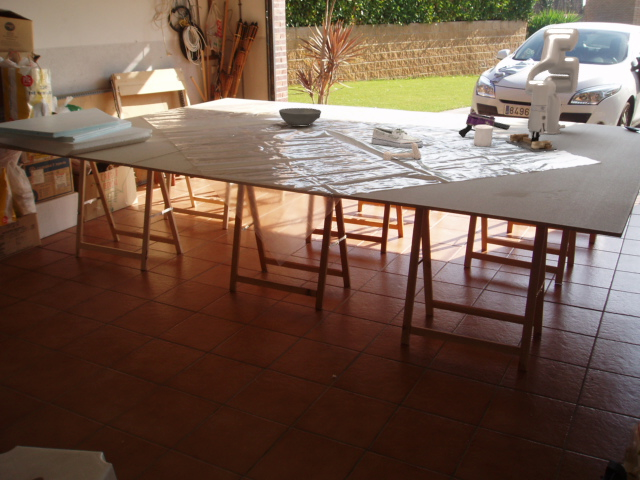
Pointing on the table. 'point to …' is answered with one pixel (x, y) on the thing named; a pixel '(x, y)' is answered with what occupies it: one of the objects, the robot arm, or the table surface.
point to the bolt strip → (528, 146)
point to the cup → (483, 135)
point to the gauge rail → (526, 139)
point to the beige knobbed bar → (415, 153)
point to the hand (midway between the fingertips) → (534, 144)
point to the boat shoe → (394, 138)
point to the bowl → (299, 115)
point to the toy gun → (481, 123)
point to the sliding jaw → (540, 144)
